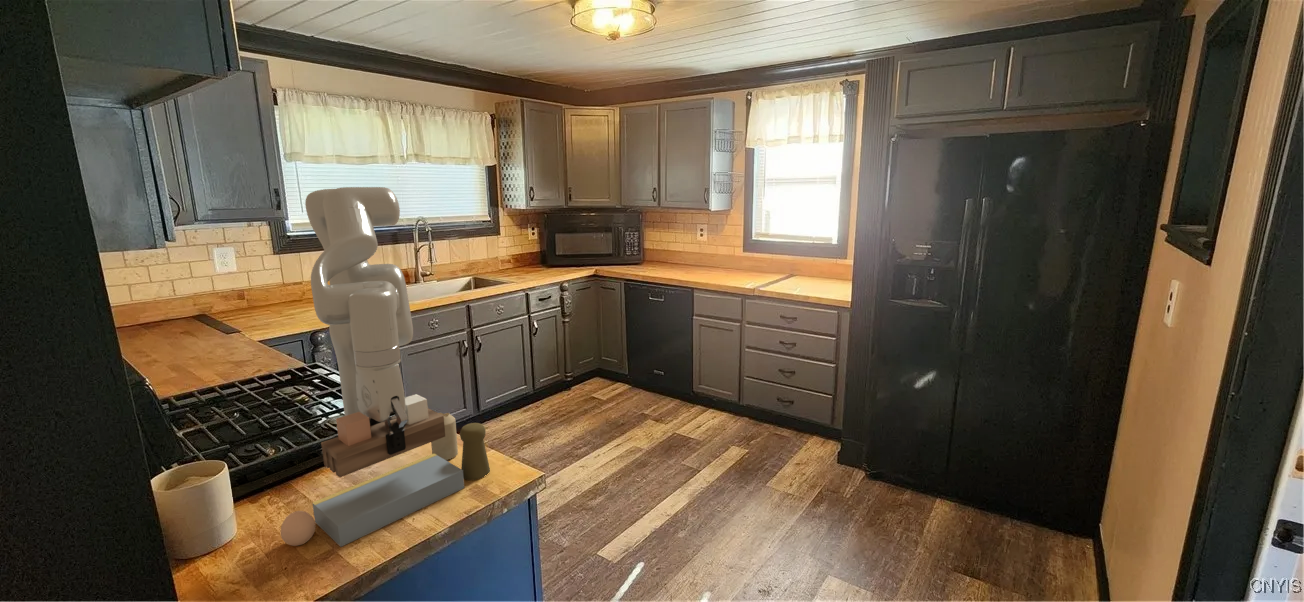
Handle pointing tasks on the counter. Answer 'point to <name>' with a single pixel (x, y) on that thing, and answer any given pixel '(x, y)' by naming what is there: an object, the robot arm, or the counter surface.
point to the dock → (386, 498)
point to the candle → (446, 439)
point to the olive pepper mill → (474, 452)
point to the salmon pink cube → (353, 428)
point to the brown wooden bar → (379, 445)
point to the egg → (297, 528)
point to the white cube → (416, 409)
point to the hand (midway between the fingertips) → (387, 445)
